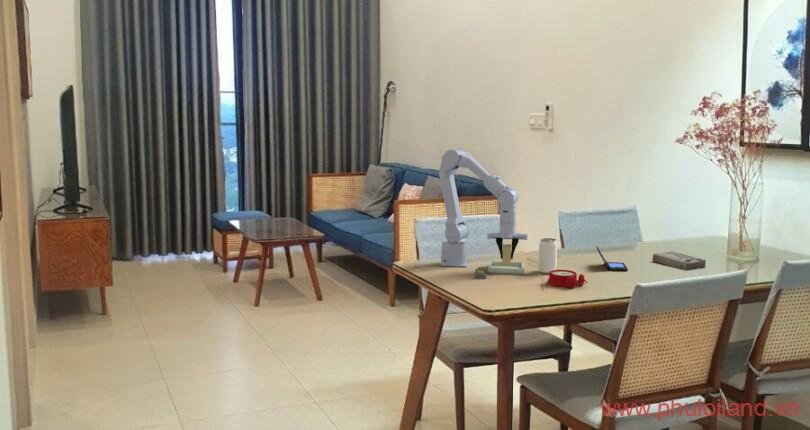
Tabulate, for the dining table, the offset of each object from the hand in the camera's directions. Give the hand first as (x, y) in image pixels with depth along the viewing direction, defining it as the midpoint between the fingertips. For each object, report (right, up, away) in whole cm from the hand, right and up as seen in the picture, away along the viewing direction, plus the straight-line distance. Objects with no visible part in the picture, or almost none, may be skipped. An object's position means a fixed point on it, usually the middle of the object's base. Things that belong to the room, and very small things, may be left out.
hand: (506, 258), depth 288 cm
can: (+15, -5, -1) cm, 16 cm away
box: (+68, -4, +13) cm, 70 cm away
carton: (0, -2, 0) cm, 2 cm away
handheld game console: (+40, -4, +7) cm, 41 cm away
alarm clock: (+18, -8, -21) cm, 28 cm away
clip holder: (-10, -6, -8) cm, 15 cm away
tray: (0, -4, +1) cm, 4 cm away
